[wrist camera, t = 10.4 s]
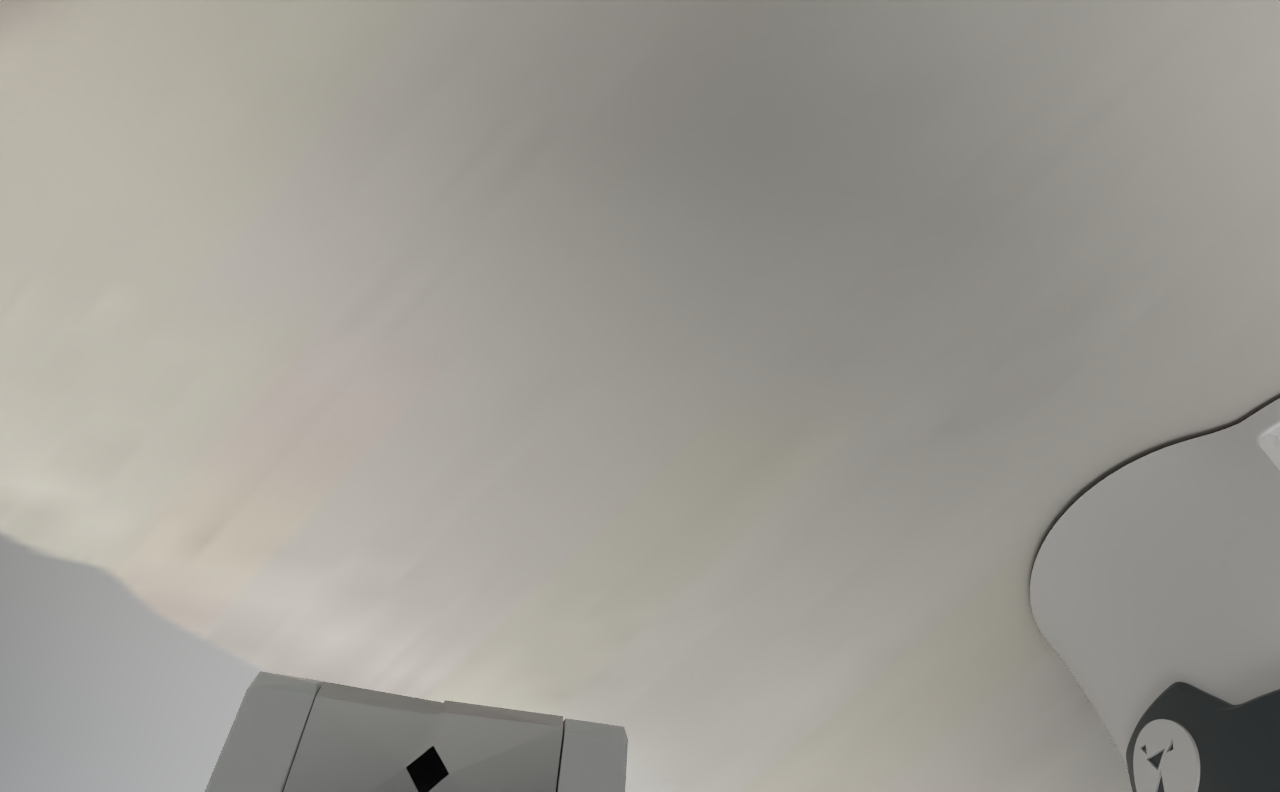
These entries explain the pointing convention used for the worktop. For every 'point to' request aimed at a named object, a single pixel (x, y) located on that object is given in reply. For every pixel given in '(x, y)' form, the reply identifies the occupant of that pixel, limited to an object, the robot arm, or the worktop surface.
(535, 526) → the worktop surface
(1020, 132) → the worktop surface
